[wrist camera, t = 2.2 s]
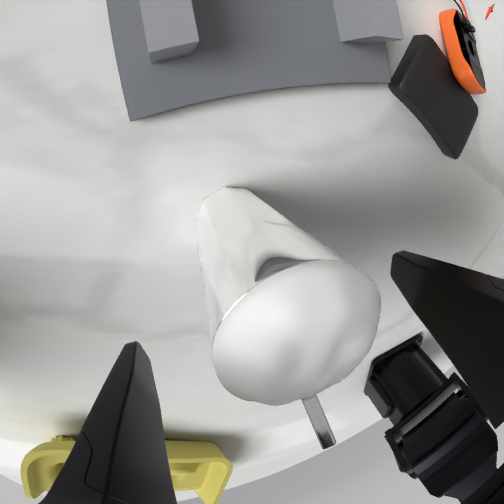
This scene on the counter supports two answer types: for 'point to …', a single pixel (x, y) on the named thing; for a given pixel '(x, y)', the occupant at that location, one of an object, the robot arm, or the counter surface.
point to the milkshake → (280, 305)
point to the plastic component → (179, 457)
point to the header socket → (245, 47)
